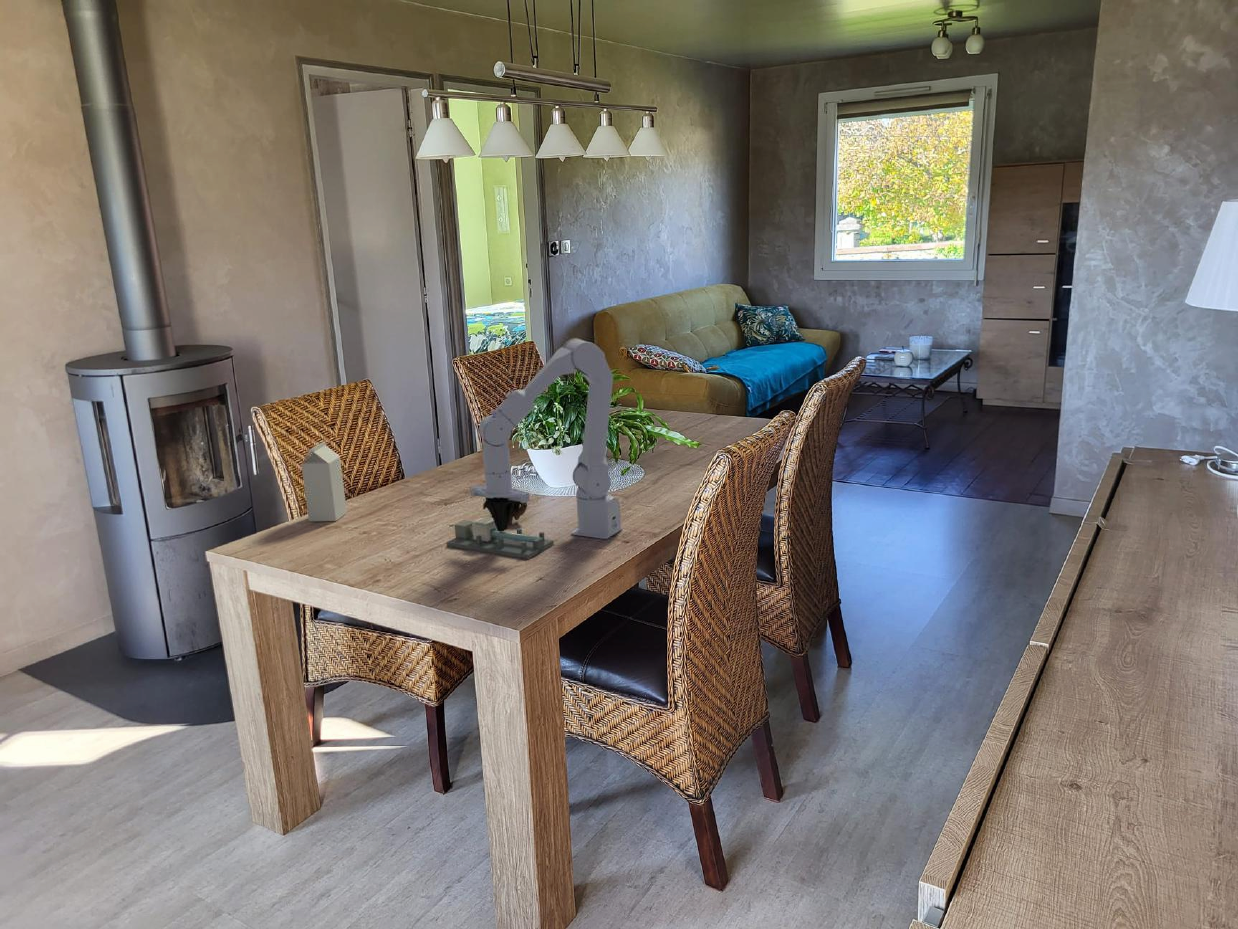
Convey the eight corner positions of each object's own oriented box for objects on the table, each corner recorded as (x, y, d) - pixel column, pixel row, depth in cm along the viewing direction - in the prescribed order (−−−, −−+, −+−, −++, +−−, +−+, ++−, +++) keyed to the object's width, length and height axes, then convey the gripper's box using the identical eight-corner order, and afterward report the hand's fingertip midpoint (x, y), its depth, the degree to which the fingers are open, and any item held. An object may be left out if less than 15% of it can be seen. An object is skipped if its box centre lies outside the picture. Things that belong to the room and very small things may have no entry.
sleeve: (499, 535, 207) (497, 518, 206) (487, 541, 203) (486, 523, 202) (485, 533, 209) (483, 516, 208) (473, 539, 205) (471, 521, 204)
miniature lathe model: (553, 544, 203) (552, 527, 202) (528, 559, 195) (526, 541, 194) (474, 532, 214) (472, 516, 213) (447, 546, 205) (445, 528, 204)
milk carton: (347, 513, 234) (338, 440, 229) (336, 521, 227) (326, 447, 222) (320, 513, 235) (311, 441, 230) (308, 522, 228) (298, 448, 223)
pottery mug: (476, 528, 219) (474, 495, 221) (497, 534, 227) (495, 502, 229) (520, 519, 214) (517, 485, 217) (539, 525, 223) (537, 492, 225)
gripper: (459, 472, 200) (465, 531, 203) (514, 478, 193) (518, 539, 196) (479, 464, 206) (484, 522, 209) (533, 470, 199) (537, 529, 202)
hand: (502, 529), depth 203 cm, fingers closed
